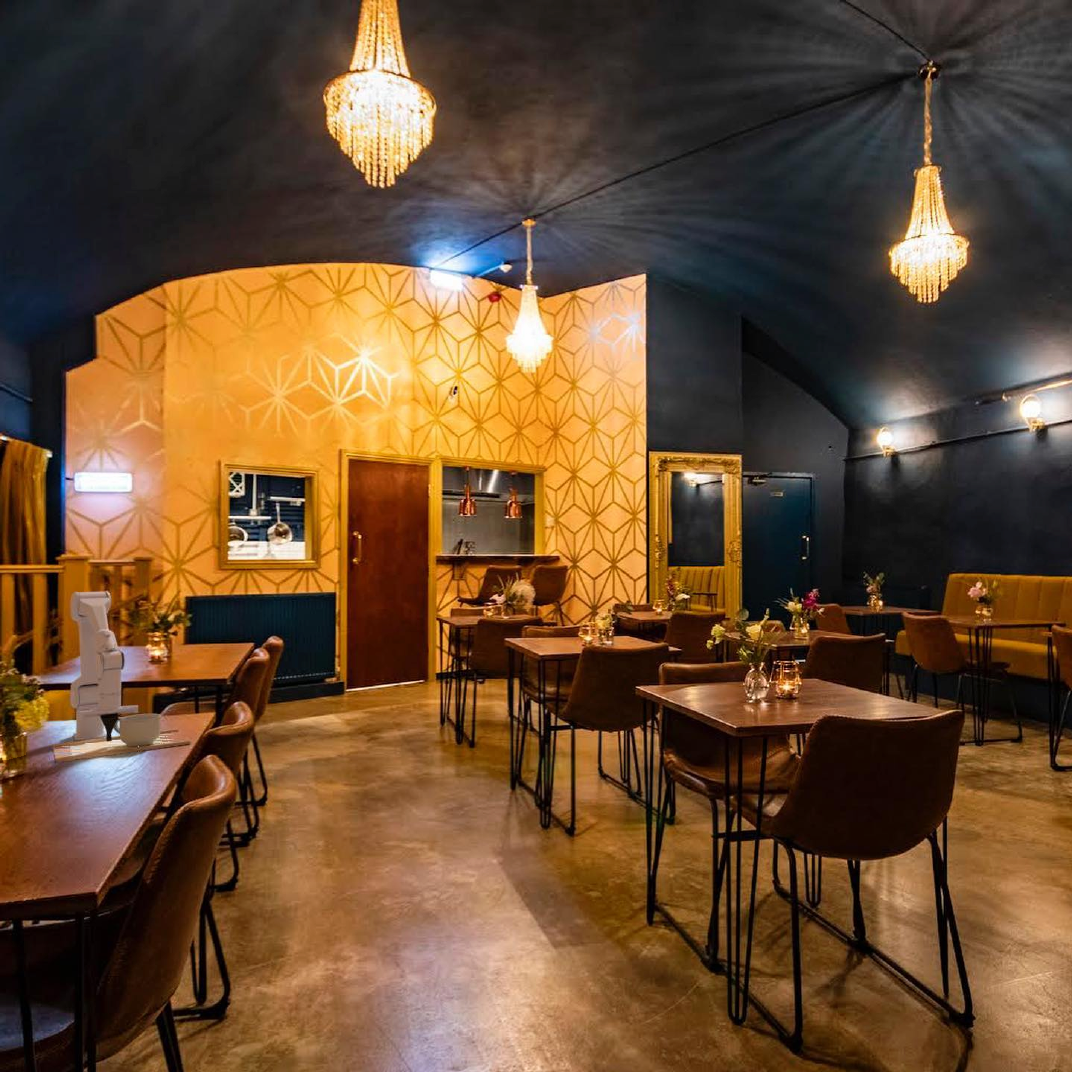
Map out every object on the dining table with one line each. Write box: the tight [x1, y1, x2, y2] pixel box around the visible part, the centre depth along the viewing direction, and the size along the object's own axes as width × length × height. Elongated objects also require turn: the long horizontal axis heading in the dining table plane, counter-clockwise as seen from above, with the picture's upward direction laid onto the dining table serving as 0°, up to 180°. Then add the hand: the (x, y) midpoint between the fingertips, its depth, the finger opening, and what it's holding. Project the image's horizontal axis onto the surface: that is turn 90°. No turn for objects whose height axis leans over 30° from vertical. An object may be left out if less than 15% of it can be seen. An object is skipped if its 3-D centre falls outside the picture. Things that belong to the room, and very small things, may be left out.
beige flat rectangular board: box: [51, 728, 191, 763], centre depth 217 cm, size 19×33×1 cm, turn 126°
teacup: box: [113, 713, 162, 746], centre depth 218 cm, size 14×11×8 cm
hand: (108, 740), depth 215 cm, fingers closed
